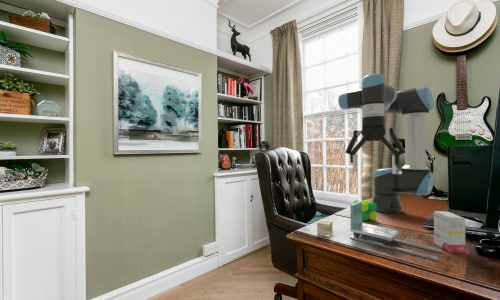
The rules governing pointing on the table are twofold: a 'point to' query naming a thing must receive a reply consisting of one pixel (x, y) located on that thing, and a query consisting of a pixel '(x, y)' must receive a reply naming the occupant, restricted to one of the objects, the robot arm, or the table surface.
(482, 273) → the table surface
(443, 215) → the ink box
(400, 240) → the track
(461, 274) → the table surface
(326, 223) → the beech block
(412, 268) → the table surface
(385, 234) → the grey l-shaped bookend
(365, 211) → the molecule model
